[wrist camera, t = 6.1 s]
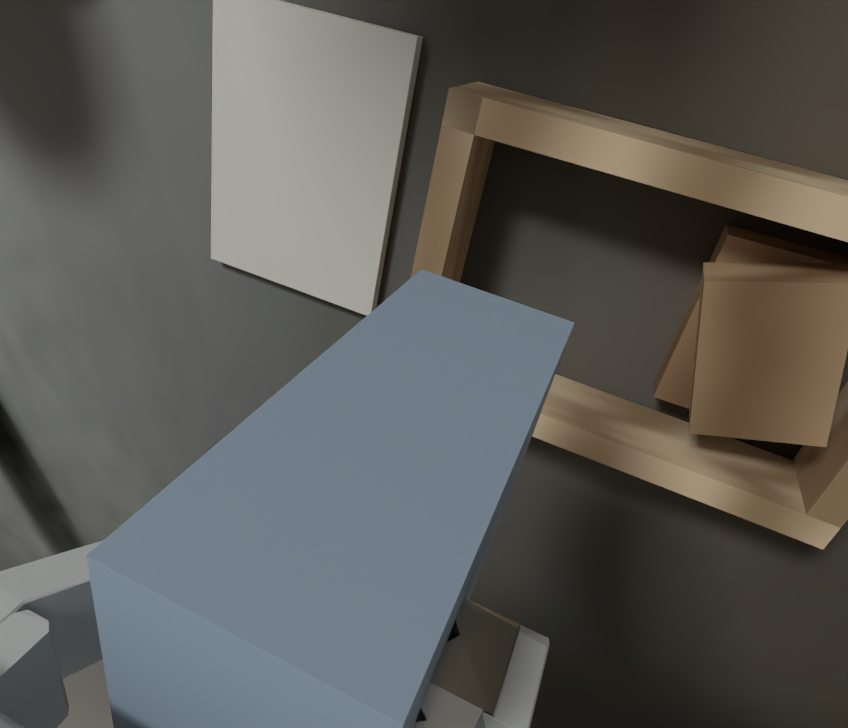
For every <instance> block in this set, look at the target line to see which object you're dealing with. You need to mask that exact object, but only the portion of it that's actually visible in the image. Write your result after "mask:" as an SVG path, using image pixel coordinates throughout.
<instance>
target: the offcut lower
mask: <svg viewBox="0 0 848 728" xmlns="http://www.w3.org/2000/svg"><path fill="white" fill-rule="evenodd" d="M709 262H713V263H848V257H845V256H842V255H838V254H834V253H831V252H827V251H823V250H819V249H816V248H812V247H808V246H805V245H801V244H797V243H793V242H790V241H786V240H782V239H779V238H775V237H771V236H767V235H764V234H760V233H756V232H753V231H749V230H745V229H742V228H738V227H734V226H730V225H727V224H726V225H725V227H724V229H723V231H722V234H721V236H720V238H719V240H718V242H717V245H716V247H715V249H714V251H713V253H712V256H711V258H710V260H709ZM701 280H702V278H701ZM701 280H700V282H699V284H698V286H697V289H696V291H695V293H694V295H693V298H692V300H691V302H690V304H689V306H688V309H687V311H686V313H685V315H684V317H683V320H682V322H681V324H680V326H679V328H678V331H677V333H676V335H675V337H674V339H673V342H672V344H671V346H670V348H669V350H668V353H667V355H666V357H665V359H664V362H663V364H662V366H661V368H660V370H659V373H658V375H657V377H656V379H655V385H654V396H653V397H655V398H658V399H661V400H664V401H667V402H670V403H673V404H676V405H679V406H682V407H685V408H688V409H689V403H690V392H691V382H692V372H693V362H694V352H695V341H696V331H697V321H698V311H699V300H700V290H701Z"/></svg>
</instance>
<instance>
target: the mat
mask: <svg viewBox="0 0 848 728" xmlns="http://www.w3.org/2000/svg"><path fill="white" fill-rule="evenodd" d="M422 41H423V37H422V36H418V35H414V34H410V33H406V32H403V31H399V30H395V29H391V28H387V27H383V26H379V25H375V24H371V23H367V22H364V21H360V20H356V19H352V18H348V17H344V16H340V15H336V14H332V13H328V12H325V11H321V10H317V9H313V8H309V7H305V6H301V5H297V4H293V3H289V2H286V1H282V0H213V57H212V187H211V259H214V260H217V261H219V262H222V263H225V264H228V265H230V266H233V267H236V268H238V269H241V270H244V271H247V272H249V273H252V274H255V275H257V276H260V277H263V278H266V279H268V280H271V281H274V282H276V283H279V284H282V285H285V286H287V287H290V288H293V289H295V290H298V291H301V292H304V293H306V294H309V295H312V296H315V297H317V298H320V299H323V300H325V301H328V302H331V303H334V304H336V305H339V306H342V307H344V308H347V309H350V310H353V311H355V312H358V313H361V314H363V315H366V316H367V315H369V314H370V313H371V312H372V311H373V310H374V309H376V307H377V301H378V296H379V290H380V284H381V278H382V273H383V267H384V261H385V255H386V249H387V244H388V238H389V232H390V226H391V220H392V215H393V209H394V203H395V197H396V192H397V186H398V180H399V174H400V168H401V163H402V157H403V151H404V145H405V139H406V134H407V128H408V122H409V116H410V110H411V105H412V99H413V93H414V87H415V82H416V76H417V70H418V64H419V58H420V53H421V47H422Z"/></svg>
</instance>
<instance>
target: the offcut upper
mask: <svg viewBox="0 0 848 728" xmlns="http://www.w3.org/2000/svg"><path fill="white" fill-rule="evenodd" d="M847 351H848V263H713V262H703V270H702V280H701V290H700V300H699V311H698V321H697V331H696V341H695V352H694V362H693V372H692V382H691V392H690V403H689V433H691V434H701V435H711V436H721V437H730V438H740V439H750V440H760V441H770V442H779V443H789V444H799V445H809V446H819V447H827V442H828V438H829V433H830V428H831V424H832V419H833V415H834V410H835V406H836V401H837V397H838V392H839V388H840V383H841V378H842V374H843V369H844V365H845V360H846V356H847Z"/></svg>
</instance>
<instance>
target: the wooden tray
mask: <svg viewBox="0 0 848 728" xmlns="http://www.w3.org/2000/svg"><path fill="white" fill-rule="evenodd" d="M495 141H497V142H501V143H504V144H508V145H511V146H515V147H518V148H521V149H525V150H528V151H532V152H535V153H539V154H542V155H546V156H549V157H553V158H556V159H560V160H563V161H567V162H570V163H574V164H577V165H581V166H584V167H588V168H591V169H594V170H598V171H601V172H605V173H608V174H612V175H615V176H619V177H622V178H626V179H629V180H633V181H636V182H640V183H643V184H647V185H650V186H654V187H657V188H661V189H664V190H668V191H671V192H674V193H678V194H681V195H685V196H688V197H692V198H695V199H699V200H702V201H706V202H709V203H713V204H716V205H720V206H723V207H727V208H730V209H734V210H737V211H741V212H744V213H748V214H751V215H754V216H758V217H761V218H765V219H768V220H772V221H775V222H779V223H782V224H786V225H789V226H793V227H796V228H800V229H803V230H807V231H810V232H814V233H817V234H821V235H824V236H827V237H831V238H834V239H838V240H841V241H845V242H848V180H844V179H841V178H837V177H833V176H829V175H826V174H822V173H818V172H815V171H811V170H807V169H803V168H800V167H796V166H792V165H788V164H785V163H781V162H777V161H773V160H770V159H766V158H762V157H758V156H755V155H751V154H747V153H744V152H740V151H736V150H732V149H729V148H725V147H721V146H717V145H714V144H710V143H706V142H702V141H699V140H695V139H691V138H687V137H684V136H680V135H676V134H673V133H669V132H665V131H661V130H658V129H654V128H650V127H646V126H643V125H639V124H635V123H631V122H628V121H624V120H620V119H617V118H613V117H609V116H605V115H602V114H598V113H594V112H590V111H587V110H583V109H579V108H575V107H572V106H568V105H564V104H560V103H557V102H553V101H549V100H546V99H542V98H538V97H534V96H531V95H527V94H523V93H519V92H516V91H512V90H508V89H504V88H501V87H497V86H493V85H489V84H486V83H482V82H474V83H470V84H465V85H461V86H456V87H452V88H449V90H448V95H447V100H446V105H445V110H444V115H443V120H442V125H441V130H440V135H439V140H438V145H437V150H436V155H435V160H434V165H433V170H432V175H431V180H430V185H429V190H428V194H427V199H426V204H425V209H424V214H423V219H422V224H421V229H420V234H419V239H418V244H417V249H416V254H415V259H414V264H413V269H412V274H411V278H412V277H413V276H414V275H415V274H417V273H418V272H419V271H420V270H421V269H422V270H425V271H428V272H431V273H434V274H437V275H439V276H442V277H445V278H448V279H451V280H454V281H457V282H459V283H460V281H461V277H462V273H463V269H464V265H465V261H466V257H467V253H468V249H469V245H470V241H471V237H472V233H473V229H474V225H475V221H476V217H477V213H478V209H479V205H480V201H481V197H482V193H483V189H484V185H485V181H486V177H487V173H488V169H489V165H490V161H491V157H492V153H493V149H494V145H495ZM532 437H535V438H537V439H540V440H543V441H545V442H548V443H550V444H553V445H555V446H558V447H561V448H563V449H566V450H568V451H571V452H573V453H576V454H579V455H581V456H584V457H586V458H589V459H591V460H594V461H597V462H599V463H602V464H604V465H607V466H609V467H612V468H615V469H617V470H620V471H622V472H625V473H627V474H630V475H632V476H635V477H638V478H640V479H643V480H645V481H648V482H650V483H653V484H656V485H658V486H661V487H663V488H666V489H668V490H671V491H674V492H676V493H679V494H681V495H684V496H686V497H689V498H692V499H694V500H697V501H699V502H702V503H704V504H707V505H710V506H712V507H715V508H717V509H720V510H722V511H725V512H728V513H730V514H733V515H735V516H738V517H740V518H743V519H746V520H748V521H751V522H753V523H756V524H758V525H761V526H763V527H766V528H769V529H771V530H774V531H776V532H779V533H781V534H784V535H787V536H789V537H792V538H794V539H797V540H799V541H802V542H805V543H807V544H810V545H812V546H815V547H817V548H820V549H824V548H825V547H826V545H827V544H828V543H829V542H830V541H831V539H832V538H833V537H834V536H835V534H836V533H837V532H838V531H839V529H840V528H841V527H842V526H843V525H844V523H845V522H846V521H847V520H848V381H847V383H846V384H845V385H844V387H843V388H842V390H841V391H840V393H839V394H838V397H837V401H836V406H835V410H834V415H833V419H832V424H831V428H830V433H829V438H828V442H827V447H819V446H809V445H803V446H802V448H801V449H800V451H799V452H798V453H797V455H796V456H795V458H794V459H793V460H791V459H788V458H785V457H782V456H780V455H777V454H774V453H771V452H769V451H766V450H763V449H760V448H758V447H755V446H752V445H749V444H747V443H744V442H741V441H738V440H736V439H733V438H730V437H721V436H711V435H701V434H691V433H689V422H686V421H683V420H681V419H678V418H675V417H672V416H670V415H667V414H664V413H661V412H659V411H656V410H653V409H650V408H648V407H645V406H642V405H639V404H637V403H634V402H631V401H628V400H626V399H623V398H620V397H617V396H615V395H612V394H609V393H606V392H604V391H601V390H598V389H596V388H593V387H590V386H587V385H585V384H582V383H579V382H576V381H574V380H571V379H568V378H565V377H563V376H560V375H557V374H555V376H554V379H553V382H552V384H551V387H550V390H549V392H548V395H547V398H546V400H545V403H544V406H543V408H542V411H541V414H540V416H539V419H538V422H537V424H536V427H535V430H534V432H533V435H532Z"/></svg>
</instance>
